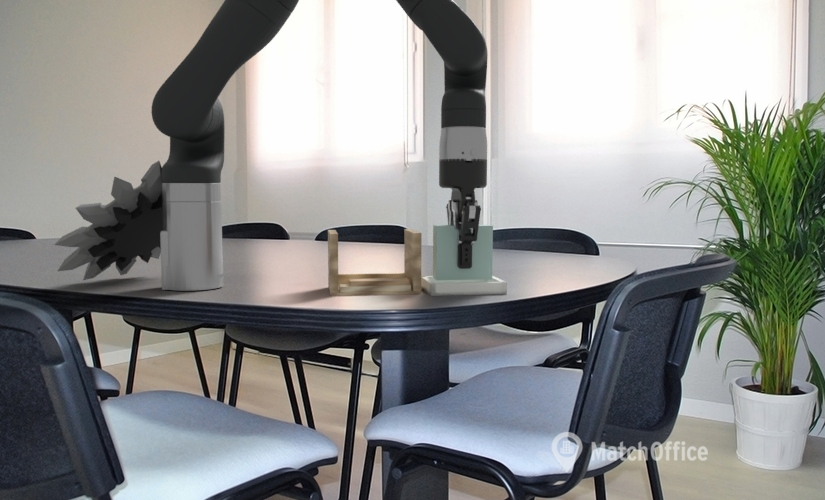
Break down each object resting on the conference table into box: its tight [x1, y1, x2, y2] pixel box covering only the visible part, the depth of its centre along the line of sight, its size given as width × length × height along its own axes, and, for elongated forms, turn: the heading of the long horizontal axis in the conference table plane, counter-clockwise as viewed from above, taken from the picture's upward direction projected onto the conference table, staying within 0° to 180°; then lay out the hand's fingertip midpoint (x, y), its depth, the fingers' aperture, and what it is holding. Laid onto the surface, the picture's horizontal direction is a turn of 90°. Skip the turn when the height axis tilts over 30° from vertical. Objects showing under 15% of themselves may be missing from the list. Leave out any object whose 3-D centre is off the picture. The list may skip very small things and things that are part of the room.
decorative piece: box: [53, 160, 163, 281], centre depth 117 cm, size 30×4×30 cm
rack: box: [327, 228, 422, 297], centre depth 108 cm, size 14×10×10 cm
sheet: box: [432, 224, 494, 280], centre depth 107 cm, size 9×3×8 cm, turn 99°
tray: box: [421, 275, 508, 297], centre depth 107 cm, size 12×9×2 cm
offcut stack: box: [339, 278, 411, 292], centre depth 105 cm, size 11×3×2 cm, turn 99°
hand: (462, 266), depth 107 cm, fingers closed on sheet, 3 cm apart
